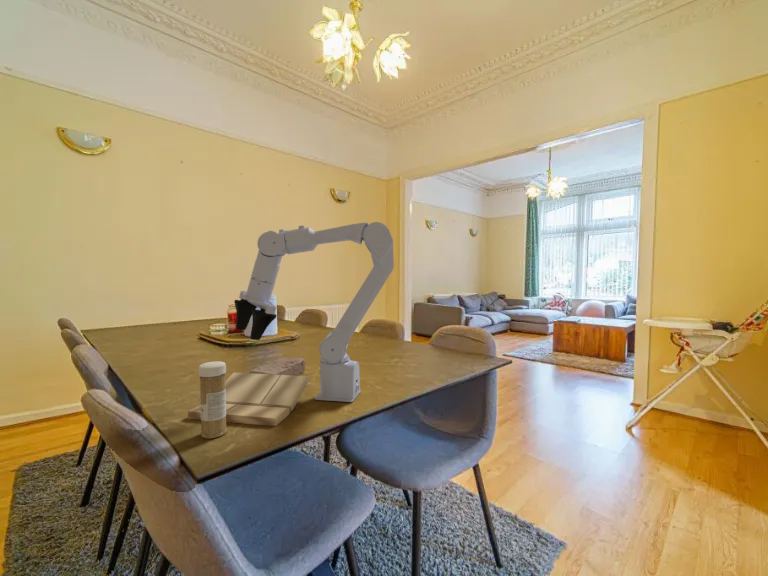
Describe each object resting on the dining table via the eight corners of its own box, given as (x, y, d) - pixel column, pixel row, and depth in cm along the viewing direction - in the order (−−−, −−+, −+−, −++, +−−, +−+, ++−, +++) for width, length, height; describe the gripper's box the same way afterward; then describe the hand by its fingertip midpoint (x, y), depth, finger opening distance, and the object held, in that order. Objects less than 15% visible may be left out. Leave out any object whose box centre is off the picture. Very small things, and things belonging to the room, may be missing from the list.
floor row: (289, 414, 74) (289, 406, 74) (275, 426, 68) (275, 417, 68) (207, 407, 78) (207, 400, 78) (188, 418, 72) (187, 410, 72)
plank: (308, 381, 84) (307, 376, 84) (291, 411, 75) (290, 405, 75) (235, 377, 88) (233, 372, 87) (210, 405, 79) (208, 399, 78)
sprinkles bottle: (200, 431, 66) (198, 362, 66) (226, 426, 68) (224, 359, 68) (200, 441, 62) (198, 368, 62) (228, 436, 64) (226, 364, 64)
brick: (272, 389, 91) (272, 372, 91) (246, 386, 94) (246, 369, 94) (306, 373, 107) (306, 358, 107) (283, 370, 109) (283, 356, 109)
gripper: (234, 271, 86) (219, 323, 86) (262, 284, 76) (245, 343, 76) (260, 276, 91) (246, 326, 91) (289, 289, 81) (273, 344, 82)
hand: (247, 334), depth 84 cm, fingers open, 7 cm apart
